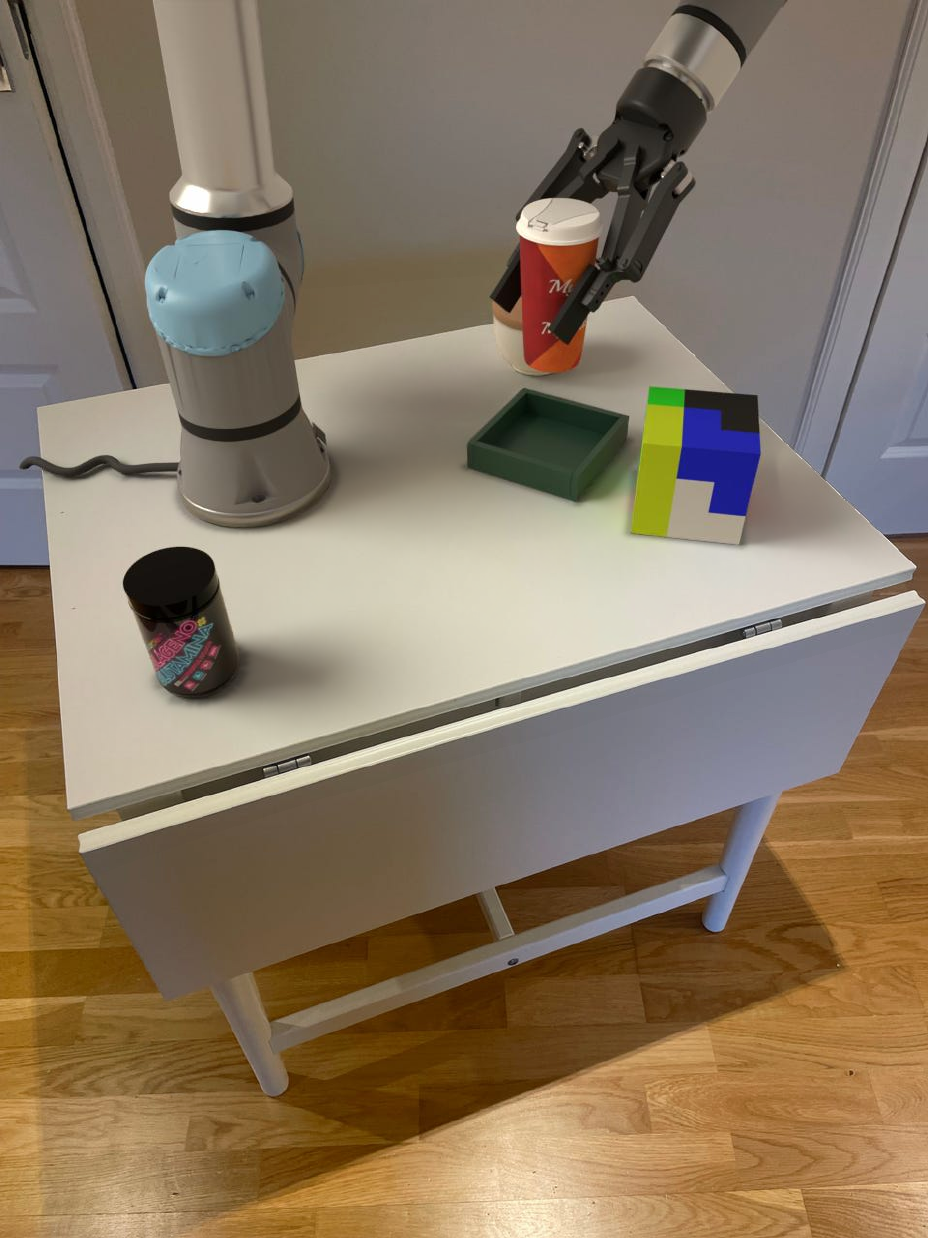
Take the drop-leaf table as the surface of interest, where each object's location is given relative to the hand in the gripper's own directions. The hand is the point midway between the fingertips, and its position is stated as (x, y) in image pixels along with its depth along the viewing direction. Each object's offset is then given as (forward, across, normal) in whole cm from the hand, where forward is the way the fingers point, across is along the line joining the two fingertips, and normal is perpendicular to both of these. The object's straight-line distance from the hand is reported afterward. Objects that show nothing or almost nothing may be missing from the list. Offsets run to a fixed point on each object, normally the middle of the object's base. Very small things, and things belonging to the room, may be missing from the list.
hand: (528, 320), depth 84 cm
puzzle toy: (+6, -15, -17) cm, 24 cm away
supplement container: (+39, -6, +17) cm, 43 cm away
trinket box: (+1, +16, -22) cm, 27 cm away
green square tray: (+9, 0, -14) cm, 16 cm away
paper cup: (+1, 0, -6) cm, 6 cm away
